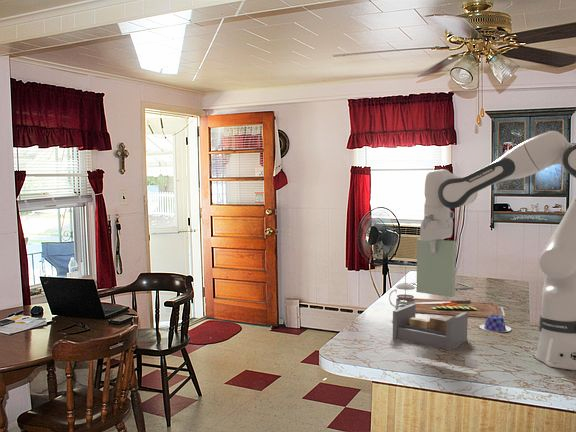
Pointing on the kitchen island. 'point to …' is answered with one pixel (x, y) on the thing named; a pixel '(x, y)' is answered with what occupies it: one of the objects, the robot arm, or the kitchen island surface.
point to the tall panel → (436, 268)
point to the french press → (405, 297)
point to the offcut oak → (420, 323)
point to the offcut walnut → (438, 324)
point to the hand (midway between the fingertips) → (436, 251)
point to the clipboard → (459, 284)
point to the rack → (444, 340)
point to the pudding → (495, 324)
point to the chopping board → (456, 308)
